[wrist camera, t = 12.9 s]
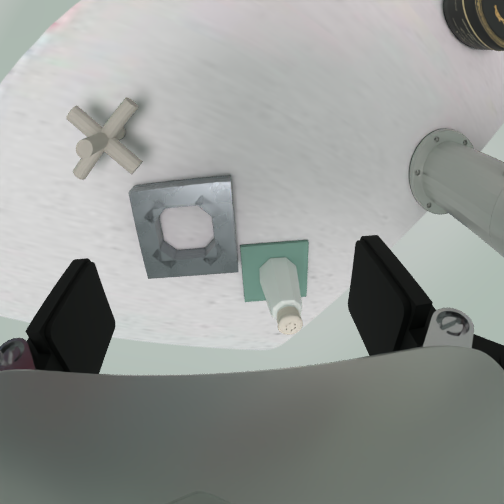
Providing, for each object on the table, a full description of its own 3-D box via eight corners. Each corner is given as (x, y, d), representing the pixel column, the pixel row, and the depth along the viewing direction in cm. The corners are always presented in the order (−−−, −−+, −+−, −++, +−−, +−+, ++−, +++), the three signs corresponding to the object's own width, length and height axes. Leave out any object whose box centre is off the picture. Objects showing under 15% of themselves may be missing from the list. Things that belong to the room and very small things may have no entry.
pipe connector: (115, 76, 30) (78, 74, 22) (175, 126, 34) (156, 140, 25) (68, 140, 33) (26, 159, 25) (124, 187, 37) (95, 219, 28)
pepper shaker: (252, 283, 45) (258, 338, 35) (267, 250, 42) (278, 302, 33) (287, 293, 46) (301, 347, 36) (303, 262, 43) (323, 314, 34)
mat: (307, 239, 42) (308, 241, 42) (305, 293, 47) (306, 296, 46) (240, 245, 42) (240, 247, 42) (244, 299, 47) (244, 302, 46)
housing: (230, 175, 38) (230, 181, 35) (237, 261, 43) (238, 272, 41) (134, 185, 37) (128, 192, 35) (152, 268, 43) (148, 278, 41)
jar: (478, 63, 30) (513, 66, 24) (430, 19, 28) (465, 13, 21) (494, 19, 26) (527, 18, 19) (449, -24, 24) (481, -34, 17)
